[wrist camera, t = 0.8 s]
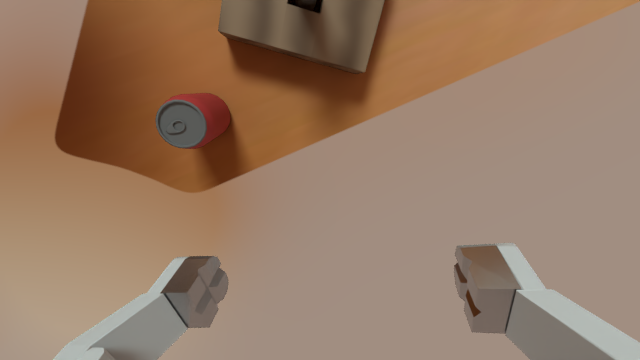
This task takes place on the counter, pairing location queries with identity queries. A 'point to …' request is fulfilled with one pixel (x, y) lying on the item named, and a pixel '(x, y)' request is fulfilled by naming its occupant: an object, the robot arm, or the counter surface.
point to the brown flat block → (306, 29)
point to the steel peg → (306, 4)
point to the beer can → (192, 119)
